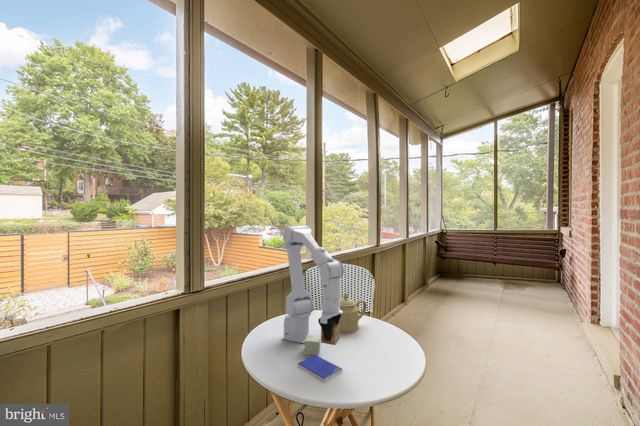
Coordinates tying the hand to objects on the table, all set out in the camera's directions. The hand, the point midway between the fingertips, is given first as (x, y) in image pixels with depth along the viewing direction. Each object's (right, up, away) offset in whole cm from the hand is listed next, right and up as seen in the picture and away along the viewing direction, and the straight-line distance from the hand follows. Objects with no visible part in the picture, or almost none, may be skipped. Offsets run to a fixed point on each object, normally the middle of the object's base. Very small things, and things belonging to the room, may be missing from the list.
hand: (330, 336), depth 108 cm
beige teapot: (+8, -7, +30) cm, 32 cm away
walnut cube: (0, -1, 0) cm, 1 cm away
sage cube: (-6, -8, +7) cm, 12 cm away
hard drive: (-4, -9, -4) cm, 11 cm away
